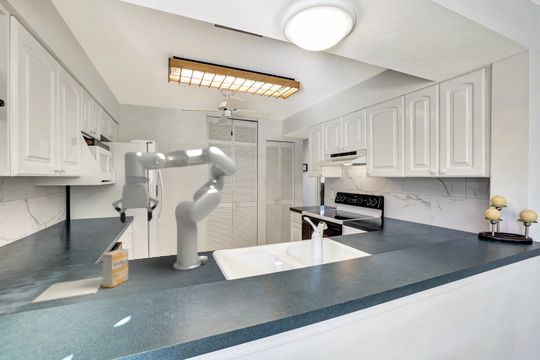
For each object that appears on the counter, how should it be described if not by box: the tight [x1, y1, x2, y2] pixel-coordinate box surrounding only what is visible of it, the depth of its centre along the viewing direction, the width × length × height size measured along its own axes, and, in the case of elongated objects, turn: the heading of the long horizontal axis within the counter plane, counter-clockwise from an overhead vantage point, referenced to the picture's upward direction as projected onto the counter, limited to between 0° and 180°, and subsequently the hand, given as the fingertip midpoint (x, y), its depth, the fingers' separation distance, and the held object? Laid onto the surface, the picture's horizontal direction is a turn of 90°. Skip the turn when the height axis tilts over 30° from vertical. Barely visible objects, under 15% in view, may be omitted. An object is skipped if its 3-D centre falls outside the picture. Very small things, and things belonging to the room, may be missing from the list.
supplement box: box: [101, 248, 129, 289], centre depth 96 cm, size 8×5×13 cm, turn 168°
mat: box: [30, 276, 103, 305], centre depth 91 cm, size 18×16×1 cm
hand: (136, 221), depth 100 cm, fingers open, 9 cm apart
